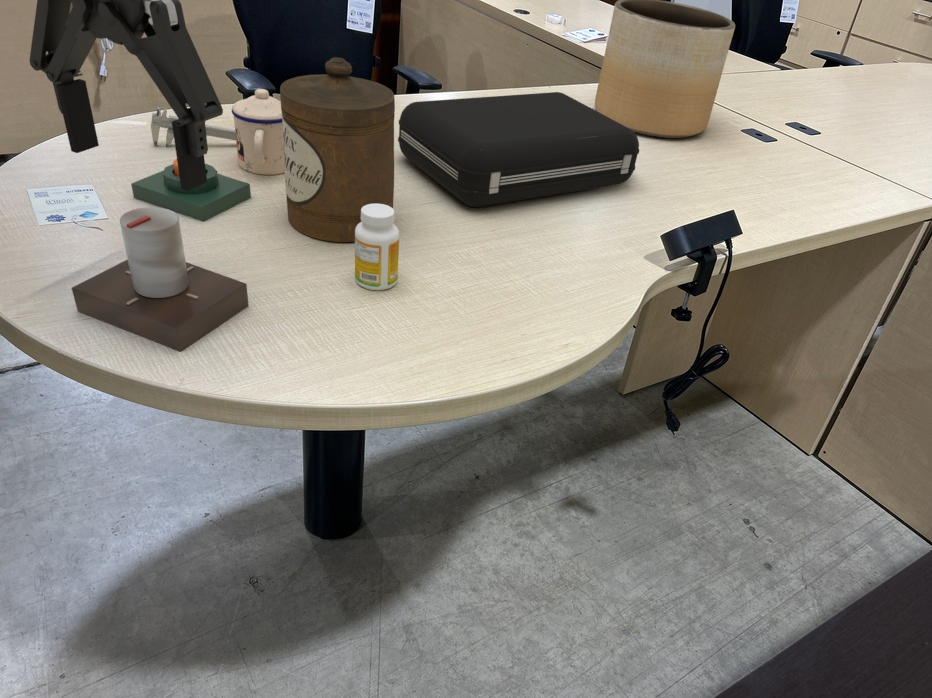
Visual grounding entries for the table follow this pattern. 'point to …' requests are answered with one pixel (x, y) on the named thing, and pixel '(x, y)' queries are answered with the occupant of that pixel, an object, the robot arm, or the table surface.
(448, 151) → the briefcase
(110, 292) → the brown rectangular base
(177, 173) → the button
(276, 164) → the teacup with lid
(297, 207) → the wooden container
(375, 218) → the supplement bottle
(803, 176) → the table surface
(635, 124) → the planter
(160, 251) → the dial
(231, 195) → the button block
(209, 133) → the caliper
